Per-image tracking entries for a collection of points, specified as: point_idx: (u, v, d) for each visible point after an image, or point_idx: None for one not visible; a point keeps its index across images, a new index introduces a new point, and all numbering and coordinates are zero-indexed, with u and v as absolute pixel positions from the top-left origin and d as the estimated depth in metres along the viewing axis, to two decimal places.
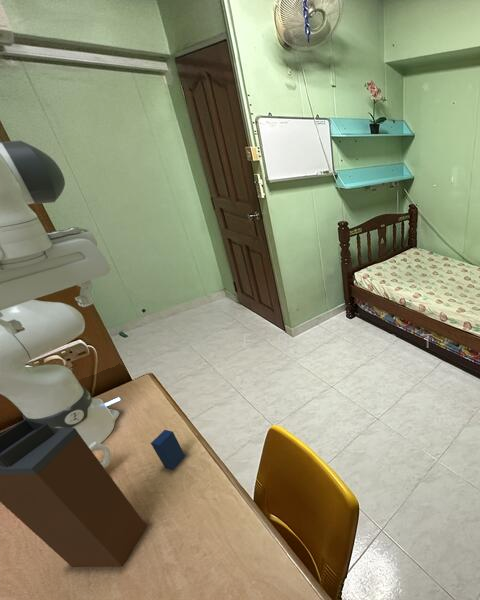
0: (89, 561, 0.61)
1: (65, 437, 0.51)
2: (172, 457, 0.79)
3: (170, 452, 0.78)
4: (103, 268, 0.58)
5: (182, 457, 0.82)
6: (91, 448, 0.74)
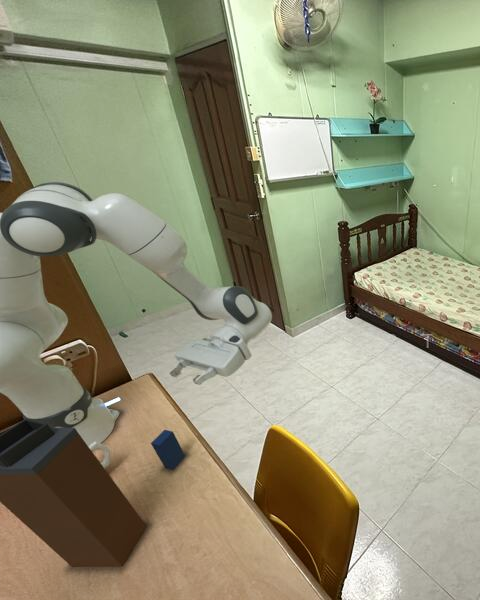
0: (89, 561, 0.61)
1: (65, 437, 0.51)
2: (172, 457, 0.79)
3: (170, 452, 0.78)
4: None
5: (182, 457, 0.82)
6: (91, 448, 0.74)
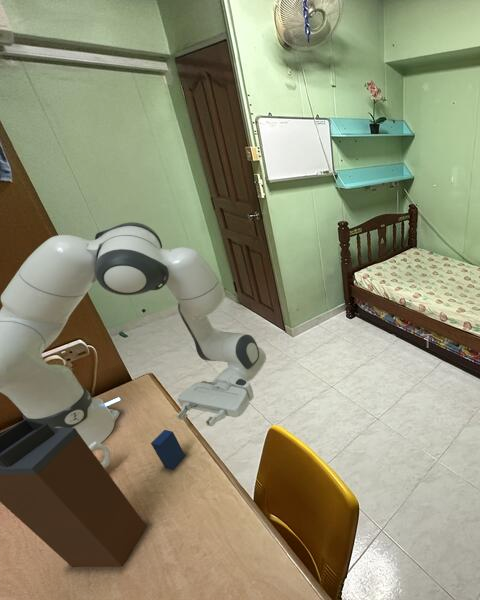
0: (89, 561, 0.61)
1: (65, 437, 0.51)
2: (172, 457, 0.79)
3: (170, 452, 0.78)
4: None
5: (182, 457, 0.82)
6: (91, 448, 0.74)
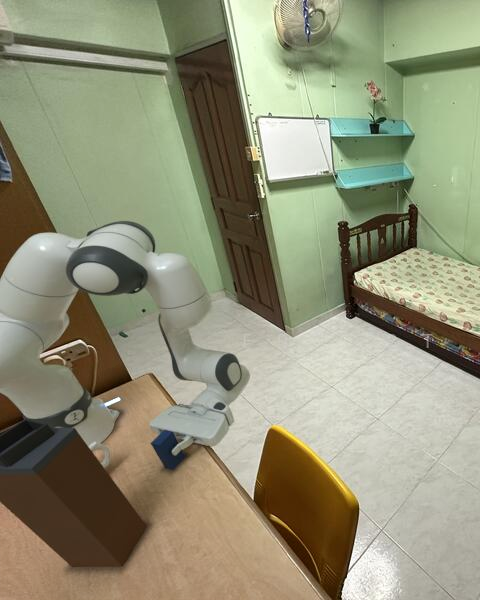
0: (89, 561, 0.61)
1: (65, 437, 0.51)
2: (172, 457, 0.79)
3: None
4: None
5: (182, 457, 0.82)
6: (91, 448, 0.74)
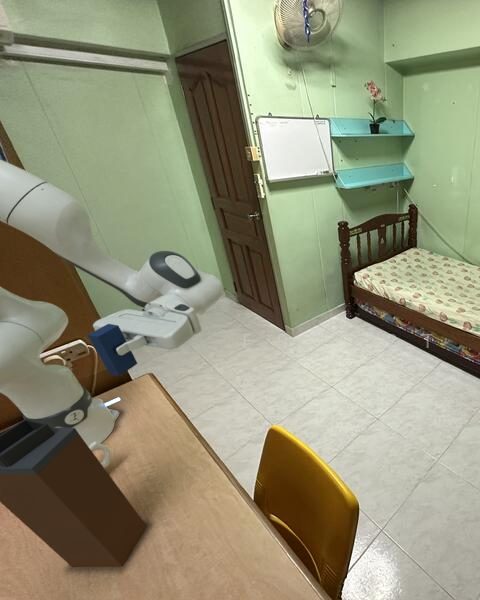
0: (89, 561, 0.61)
1: (65, 437, 0.51)
2: (118, 359, 0.63)
3: None
4: None
5: (133, 363, 0.66)
6: (91, 448, 0.74)
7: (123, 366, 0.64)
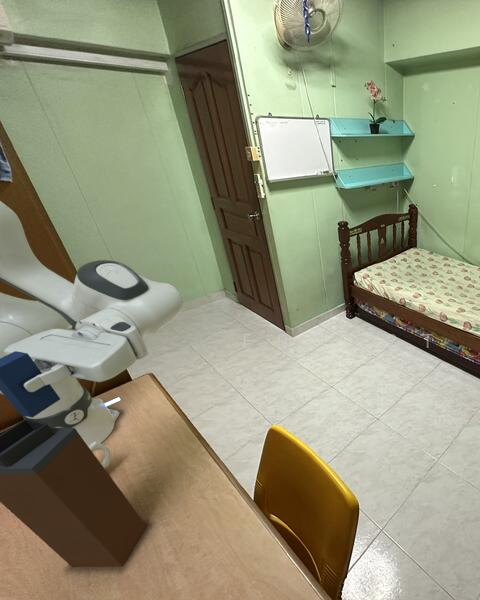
0: (89, 561, 0.61)
1: (65, 437, 0.51)
2: (29, 397, 0.49)
3: None
4: None
5: (53, 400, 0.52)
6: (91, 448, 0.74)
7: (38, 404, 0.50)
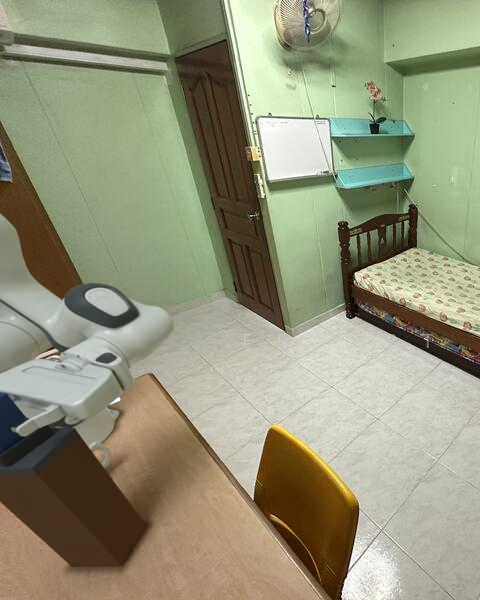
0: (89, 561, 0.61)
1: (65, 437, 0.51)
2: (8, 438, 0.47)
3: (1, 428, 0.46)
4: None
5: None
6: (91, 448, 0.74)
7: None
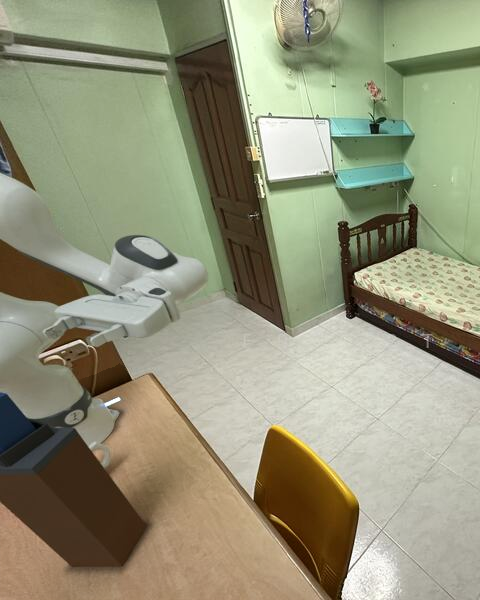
0: (89, 561, 0.61)
1: (65, 437, 0.51)
2: (8, 438, 0.47)
3: (1, 428, 0.46)
4: None
5: None
6: (91, 448, 0.74)
7: None
